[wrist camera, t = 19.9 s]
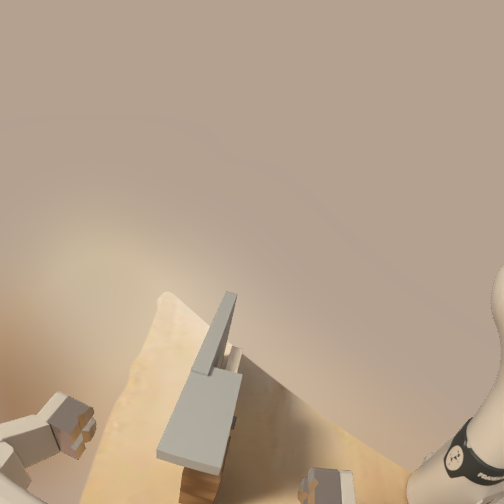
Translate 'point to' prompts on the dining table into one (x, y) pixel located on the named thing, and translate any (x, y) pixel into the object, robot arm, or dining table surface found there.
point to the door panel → (234, 368)
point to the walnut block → (200, 484)
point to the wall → (204, 403)
